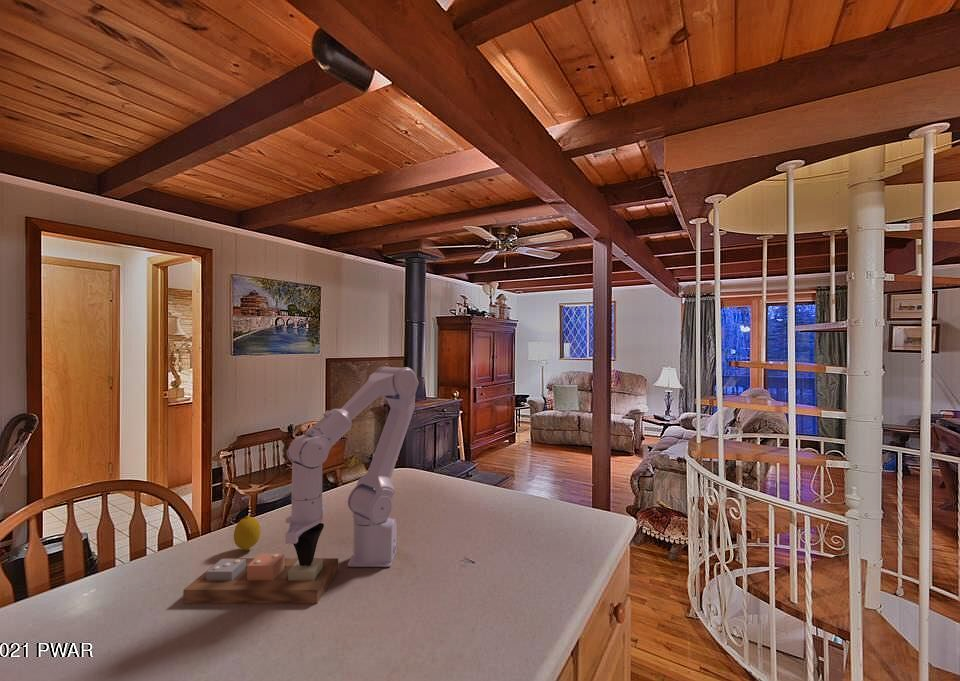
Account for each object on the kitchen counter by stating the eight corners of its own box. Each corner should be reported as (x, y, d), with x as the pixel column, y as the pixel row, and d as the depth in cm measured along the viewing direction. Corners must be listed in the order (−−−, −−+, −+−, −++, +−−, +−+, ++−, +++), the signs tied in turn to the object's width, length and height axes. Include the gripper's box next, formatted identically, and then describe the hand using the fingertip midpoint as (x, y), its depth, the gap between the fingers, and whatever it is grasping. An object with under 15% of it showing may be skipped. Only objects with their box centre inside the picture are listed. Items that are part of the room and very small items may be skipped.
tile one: (323, 575, 88) (323, 557, 88) (313, 588, 83) (313, 570, 83) (298, 575, 88) (299, 557, 88) (288, 588, 83) (288, 570, 83)
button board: (338, 570, 91) (338, 558, 92) (317, 603, 79) (317, 589, 80) (222, 569, 91) (222, 558, 91) (183, 603, 79) (183, 589, 79)
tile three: (245, 575, 88) (245, 557, 88) (231, 589, 83) (231, 570, 83) (221, 575, 88) (221, 557, 88) (206, 589, 83) (206, 570, 83)
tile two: (284, 570, 88) (284, 552, 88) (272, 583, 83) (273, 564, 83) (260, 570, 88) (260, 552, 88) (247, 583, 83) (247, 564, 83)
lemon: (248, 557, 97) (249, 521, 97) (227, 554, 98) (228, 519, 98) (265, 546, 103) (265, 512, 103) (245, 543, 104) (246, 510, 104)
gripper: (302, 484, 93) (301, 547, 93) (269, 509, 79) (268, 583, 78) (334, 484, 93) (333, 547, 93) (307, 509, 79) (306, 583, 78)
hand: (306, 563), depth 86 cm, fingers closed, pressing on tile one
